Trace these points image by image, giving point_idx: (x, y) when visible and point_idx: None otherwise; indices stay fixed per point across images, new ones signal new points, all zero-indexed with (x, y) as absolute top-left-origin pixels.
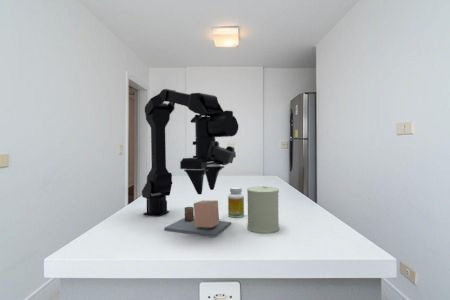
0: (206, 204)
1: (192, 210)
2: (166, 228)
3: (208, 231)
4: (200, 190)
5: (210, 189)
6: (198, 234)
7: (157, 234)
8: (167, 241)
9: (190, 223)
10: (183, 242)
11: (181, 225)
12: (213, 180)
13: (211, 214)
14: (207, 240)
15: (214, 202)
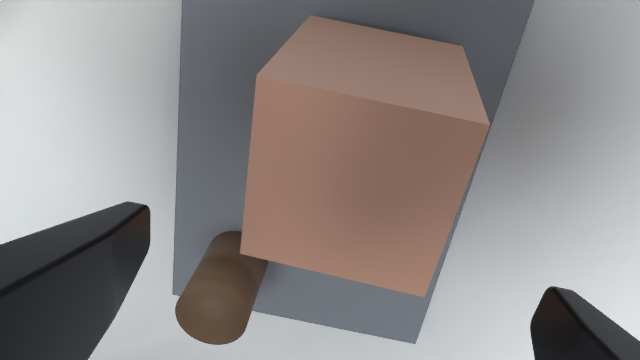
0: (473, 162)
1: (224, 279)
2: (418, 329)
3: (470, 62)
4: (611, 333)
5: (147, 245)
6: None
7: (484, 341)
8: (605, 263)
9: None
10: (629, 175)
11: None
12: (52, 297)
13: (459, 75)
14: (597, 31)
15: (362, 93)
